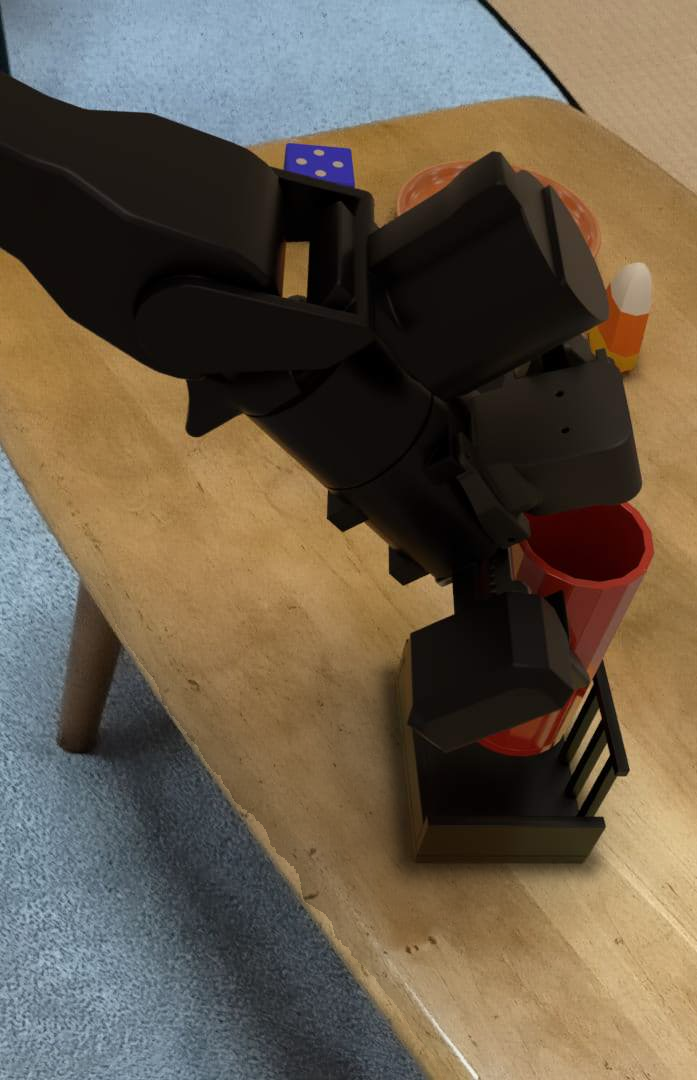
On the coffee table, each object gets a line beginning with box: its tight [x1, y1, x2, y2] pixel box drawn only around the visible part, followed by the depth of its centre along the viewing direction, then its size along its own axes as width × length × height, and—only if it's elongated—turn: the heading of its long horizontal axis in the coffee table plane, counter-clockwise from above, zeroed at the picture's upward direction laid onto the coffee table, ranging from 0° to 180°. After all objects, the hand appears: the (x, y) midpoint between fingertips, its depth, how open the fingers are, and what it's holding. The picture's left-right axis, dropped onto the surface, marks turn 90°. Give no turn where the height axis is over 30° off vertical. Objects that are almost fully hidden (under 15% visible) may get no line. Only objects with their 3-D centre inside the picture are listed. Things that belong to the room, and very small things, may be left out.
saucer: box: [395, 159, 602, 261], centre depth 96 cm, size 16×16×3 cm
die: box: [282, 142, 356, 188], centre depth 94 cm, size 5×5×5 cm
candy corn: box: [588, 261, 653, 373], centre depth 87 cm, size 6×3×8 cm, turn 5°
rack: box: [394, 638, 631, 864], centre depth 63 cm, size 9×11×8 cm
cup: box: [477, 501, 655, 756], centre depth 57 cm, size 6×6×13 cm
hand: (572, 627), depth 57 cm, fingers closed on cup, 6 cm apart
